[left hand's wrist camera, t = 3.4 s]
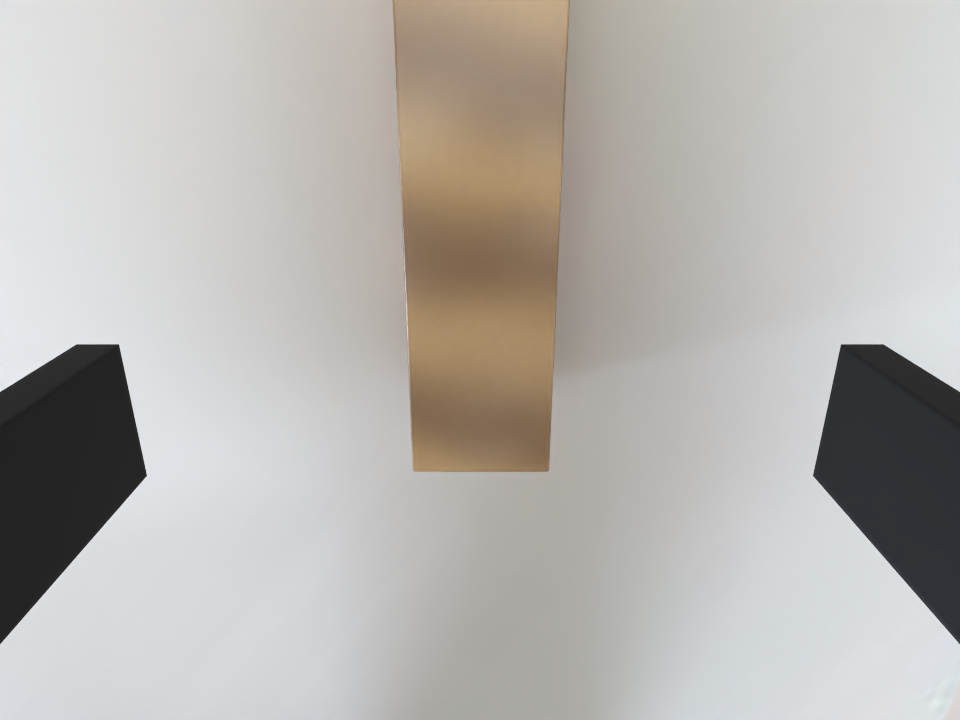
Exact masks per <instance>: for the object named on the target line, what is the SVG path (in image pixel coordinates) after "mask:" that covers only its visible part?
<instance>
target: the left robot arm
mask: <svg viewBox="0 0 960 720" xmlns="http://www.w3.org/2000/svg"><path fill="white" fill-rule="evenodd" d="M146 476H147V474H146V470H145V465H144V460H143V455H142V451H141V446H140V441H139V437H138V432H137V427H136V423H135V418H134V413H133V409H132V404H131V399H130V394H129V390H128V385H127V380H126V376H125V371H124V366H123V362H122V357H121V352H120V348H119V345H75V346H74V347H72V348H70V349H69V350H67V351H66V352H64V353H62V354H61V355H59V356H57V357H56V358H54V359H53V360H51V361H49V362H48V363H46V364H45V365H43V366H41V367H40V368H38V369H37V370H35V371H33V372H32V373H30V374H29V375H27V376H25V377H24V378H22V379H21V380H19V381H17V382H16V383H14V384H12V385H11V386H9V387H8V388H6V389H4V390H3V391H1V392H0V644H1V643H2V641H3V640H4V639H5V638H6V637H7V636H8V634H9V633H10V632H11V631H12V630H13V629H14V628H15V626H16V625H17V624H18V623H19V622H20V621H21V620H22V618H23V617H24V616H25V615H26V614H27V613H28V612H29V610H30V609H31V608H32V607H33V606H34V605H35V603H36V602H37V601H38V600H39V599H40V598H41V597H42V595H43V594H44V593H45V592H46V591H47V590H48V589H49V587H50V586H51V585H52V584H53V583H54V582H55V581H56V579H57V578H58V577H59V576H60V575H61V574H62V573H63V571H64V570H65V569H66V568H67V567H68V566H69V564H70V563H71V562H72V561H73V560H74V559H75V558H76V556H77V555H78V554H79V553H80V552H81V551H82V550H83V548H84V547H85V546H86V545H87V544H88V543H89V542H90V540H91V539H92V538H93V537H94V536H95V535H96V534H97V532H98V531H99V530H100V529H101V528H102V527H103V525H104V524H105V523H106V522H107V521H108V520H109V519H110V517H111V516H112V515H113V514H114V513H115V512H116V511H117V509H118V508H119V507H120V506H121V505H122V504H123V503H124V501H125V500H126V499H127V498H128V497H129V496H130V494H131V493H132V492H133V491H134V490H135V489H136V488H137V486H138V485H139V484H140V483H141V482H142V481H143V480H144V478H145V477H146ZM813 476H814V477H815V478H816V480H817V481H818V482H819V483H820V484H821V485H822V486H823V488H824V489H825V490H826V491H827V492H828V493H829V494H830V496H831V497H832V498H833V499H834V500H835V501H836V503H837V504H838V505H839V506H840V507H841V508H842V509H843V511H844V512H845V513H846V514H847V515H848V516H849V517H850V519H851V520H852V521H853V522H854V523H855V524H856V525H857V527H858V528H859V529H860V530H861V531H862V532H863V534H864V535H865V536H866V537H867V538H868V539H869V540H870V542H871V543H872V544H873V545H874V546H875V547H876V548H877V550H878V551H879V552H880V553H881V554H882V555H883V556H884V558H885V559H886V560H887V561H888V562H889V563H890V564H891V566H892V567H893V568H894V569H895V570H896V571H897V573H898V574H899V575H900V576H901V577H902V578H903V579H904V581H905V582H906V583H907V584H908V585H909V586H910V587H911V589H912V590H913V591H914V592H915V593H916V594H917V595H918V597H919V598H920V599H921V600H922V601H923V602H924V603H925V605H926V606H927V607H928V608H929V609H930V610H931V612H932V613H933V614H934V615H935V616H936V617H937V618H938V620H939V621H940V622H941V623H942V624H943V625H944V626H945V628H946V629H947V630H948V631H949V632H950V633H951V634H952V636H953V637H954V638H955V639H956V640H957V641H958V643H959V644H960V392H959V391H957V390H956V389H954V388H952V387H951V386H949V385H948V384H946V383H944V382H943V381H941V380H939V379H938V378H936V377H935V376H933V375H931V374H930V373H928V372H927V371H925V370H923V369H922V368H920V367H919V366H917V365H915V364H914V363H912V362H911V361H909V360H907V359H906V358H904V357H903V356H901V355H899V354H898V353H896V352H894V351H893V350H891V349H890V348H888V347H886V346H885V345H841V348H840V352H839V357H838V362H837V366H836V371H835V376H834V380H833V385H832V390H831V394H830V399H829V404H828V409H827V413H826V418H825V423H824V427H823V432H822V437H821V441H820V446H819V451H818V455H817V460H816V465H815V470H814V474H813Z"/></svg>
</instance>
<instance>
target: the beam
mask: <svg viewBox="0 0 960 720" xmlns="http://www.w3.org/2000/svg"><path fill="white" fill-rule="evenodd" d="M393 15H394V38H395V61H396V85H397V108H398V132H399V155H400V178H401V202H402V225H403V249H404V272H405V295H406V319H407V342H408V366H409V389H410V412H411V436H412V459H413V471H414V472H547V471H549V454H550V431H551V409H552V386H553V363H554V340H555V318H556V295H557V272H558V249H559V226H560V204H561V181H562V158H563V135H564V113H565V90H566V67H567V44H568V22H569V0H393Z"/></svg>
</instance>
